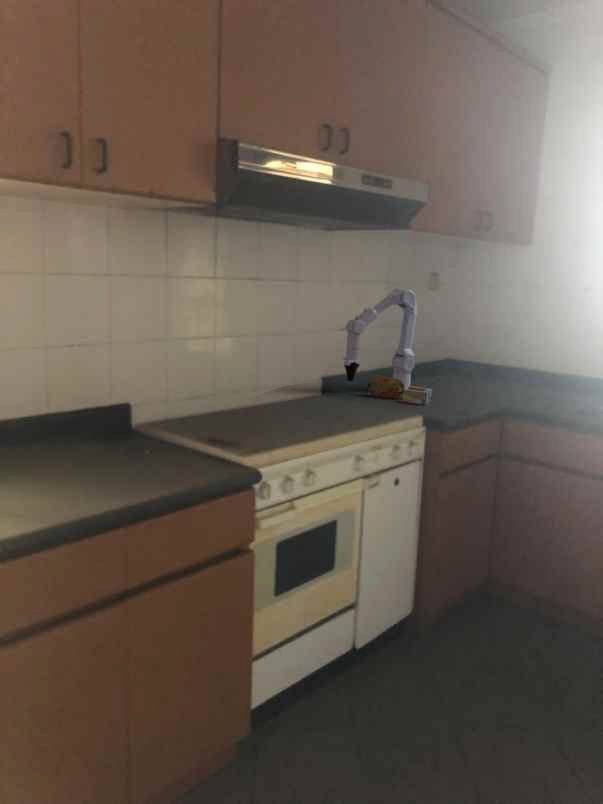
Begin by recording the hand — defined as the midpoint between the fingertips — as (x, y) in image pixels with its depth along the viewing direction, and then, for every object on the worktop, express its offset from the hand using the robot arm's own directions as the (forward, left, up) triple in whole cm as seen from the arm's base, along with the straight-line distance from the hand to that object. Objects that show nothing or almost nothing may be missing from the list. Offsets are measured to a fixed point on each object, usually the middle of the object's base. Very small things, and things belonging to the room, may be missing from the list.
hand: (350, 380), depth 279 cm
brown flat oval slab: (0, +16, -5) cm, 16 cm away
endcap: (0, +29, -5) cm, 29 cm away
